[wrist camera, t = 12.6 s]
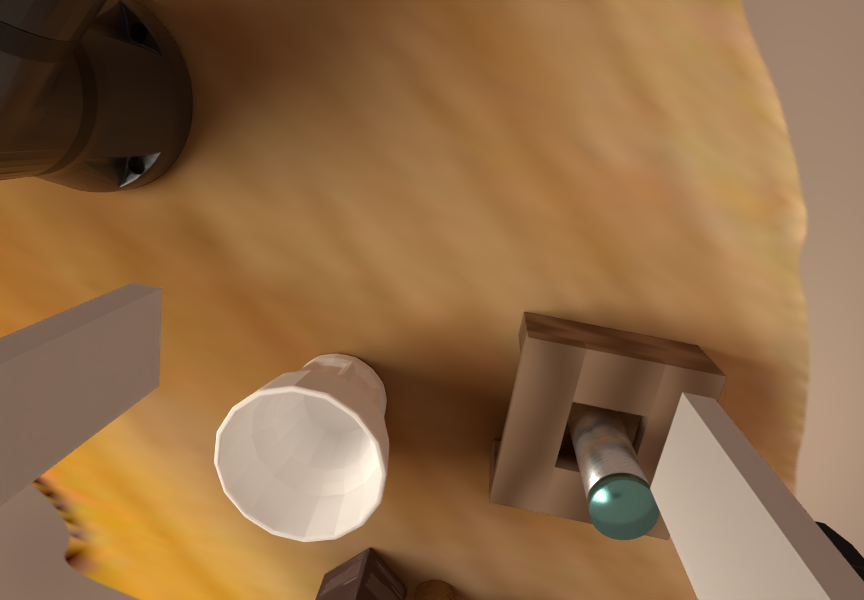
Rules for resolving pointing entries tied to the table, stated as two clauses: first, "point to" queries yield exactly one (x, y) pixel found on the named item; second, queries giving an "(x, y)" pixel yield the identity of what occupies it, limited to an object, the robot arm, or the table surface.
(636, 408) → the bracket
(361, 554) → the box
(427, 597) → the medium pin
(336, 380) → the cup
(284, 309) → the table surface
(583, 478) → the long pin
